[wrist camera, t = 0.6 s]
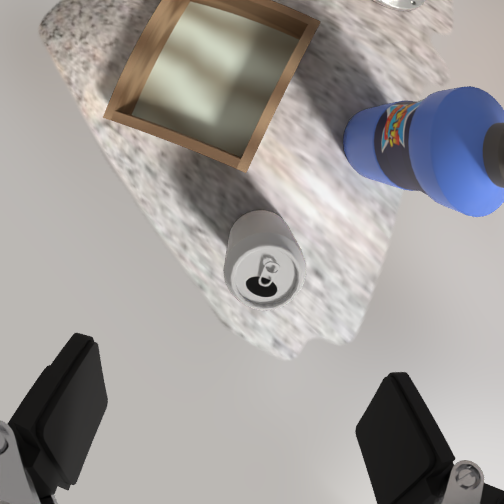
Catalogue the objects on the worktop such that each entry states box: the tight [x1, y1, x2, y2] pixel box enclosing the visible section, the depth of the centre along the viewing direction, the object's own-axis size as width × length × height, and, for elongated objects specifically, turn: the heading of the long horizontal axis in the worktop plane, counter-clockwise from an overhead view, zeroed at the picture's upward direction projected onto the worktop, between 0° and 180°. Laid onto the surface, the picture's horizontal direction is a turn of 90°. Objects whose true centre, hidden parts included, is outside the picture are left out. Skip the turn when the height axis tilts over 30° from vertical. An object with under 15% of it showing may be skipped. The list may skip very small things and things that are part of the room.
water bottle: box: [343, 86, 504, 217], centre depth 22 cm, size 9×9×25 cm
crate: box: [103, 0, 320, 173], centre depth 28 cm, size 18×16×6 cm
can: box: [224, 210, 306, 311], centre depth 32 cm, size 8×8×12 cm
